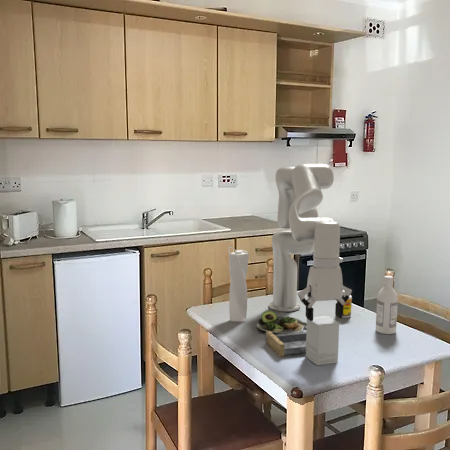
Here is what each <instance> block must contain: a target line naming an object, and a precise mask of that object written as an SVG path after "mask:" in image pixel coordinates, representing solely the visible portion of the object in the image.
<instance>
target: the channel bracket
mask: <svg viewBox="0 0 450 450" xmlns="http://www.w3.org/2000/svg"><path fill="white" fill-rule="evenodd" d="M306 332H307V331H302V332H298V333H289V332H287V333H288V334H278V335H274V334H273V333H272V332H271V331H266V334H265V343H266V345H268V347H269V349H271V350H272V351H273V352H274V353H275V354H276V355H277V356H278V357H279V358H283V357H292V356H302V355H306Z"/></svg>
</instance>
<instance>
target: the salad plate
mask: <svg viewBox="0 0 450 450" xmlns="http://www.w3.org/2000/svg"><path fill="white" fill-rule="evenodd" d="M305 328H307V322H304V321H303V320H301V319H299V318H295V317H292V316H285V317H283V316H278V314H277V313H276V312H274V311H271V310H265V311H263V313H262V314H261V315H260V318H259V319H258V321H257V325H256V330H258V332H260V333H261V334H265V335H266V331H271V332H272V333H273V334H274V335H278V334H288V333H298V332H304V329H305ZM284 331H288V332H284ZM289 331H290V332H289Z"/></svg>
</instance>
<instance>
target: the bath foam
mask: <svg viewBox="0 0 450 450" xmlns="http://www.w3.org/2000/svg"><path fill="white" fill-rule="evenodd" d="M393 285H394V277H393V276H392V275H385V276H384V277H383V287H382V288H381V289H380V290H379V292H378V295H377V298H376V312H375V313H376V314H375V315H376V316H375V331H376V332H377V333H379V334H382V335H393V334H395V333H396V332H397V322H398V321H397V320H398V306H399V305H398V304H399V300H398V299H399V298H398V295H397V292H396V290H395V288H394V286H393Z"/></svg>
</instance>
